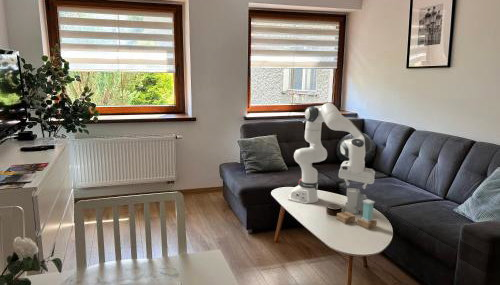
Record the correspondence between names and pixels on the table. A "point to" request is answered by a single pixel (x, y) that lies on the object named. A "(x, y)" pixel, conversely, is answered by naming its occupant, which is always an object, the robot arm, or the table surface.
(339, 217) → the stand
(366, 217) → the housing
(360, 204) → the circuit breaker
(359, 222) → the stand
